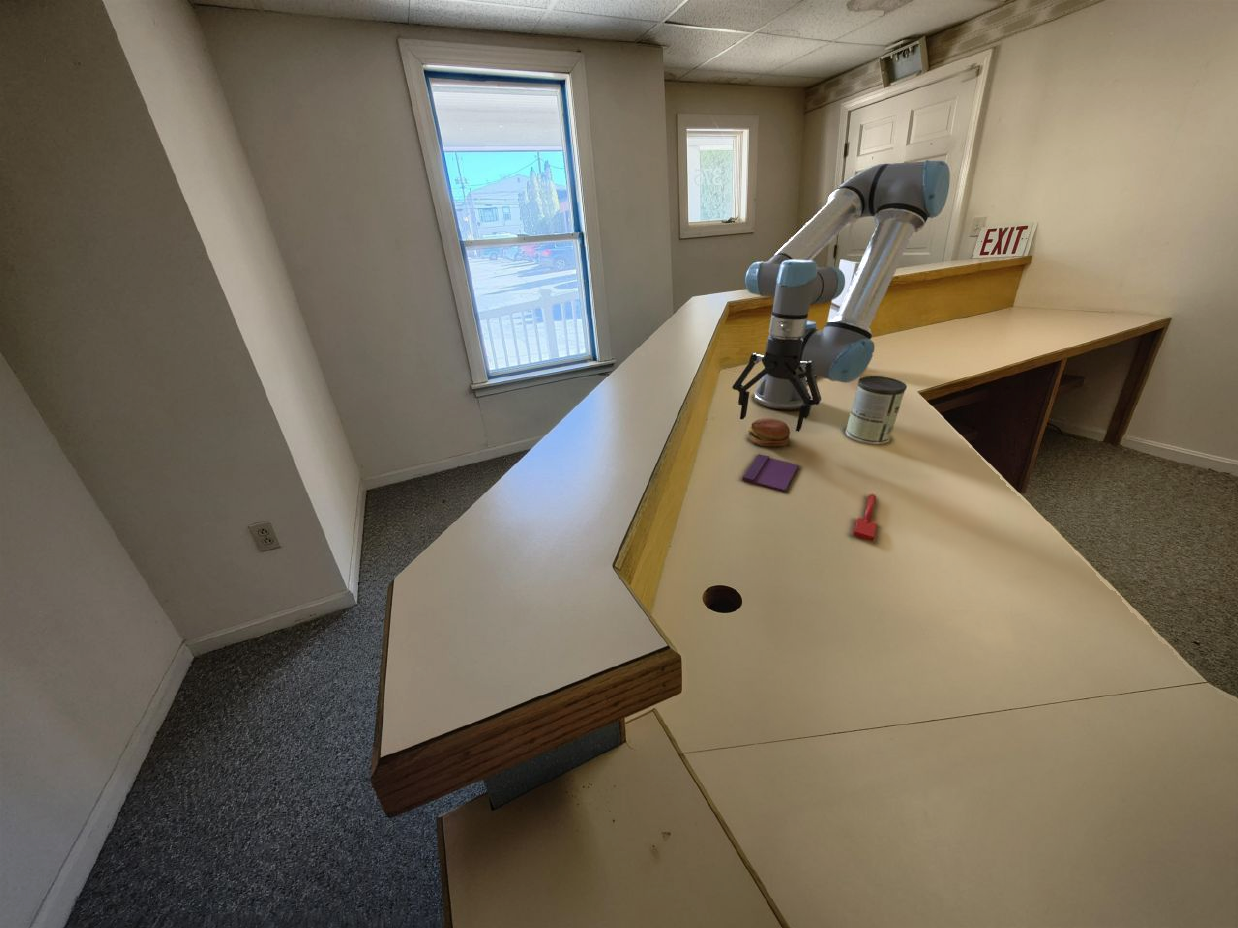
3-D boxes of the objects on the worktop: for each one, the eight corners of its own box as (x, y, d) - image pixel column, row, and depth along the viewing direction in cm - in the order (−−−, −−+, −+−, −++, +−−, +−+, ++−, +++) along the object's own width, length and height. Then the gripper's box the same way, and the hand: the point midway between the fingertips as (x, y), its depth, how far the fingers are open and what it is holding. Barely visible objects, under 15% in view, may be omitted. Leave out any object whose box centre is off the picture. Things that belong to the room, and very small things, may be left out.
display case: (861, 370, 160) (889, 262, 142) (830, 370, 160) (855, 263, 143) (847, 360, 170) (872, 259, 152) (818, 361, 170) (840, 259, 152)
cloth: (758, 456, 106) (758, 453, 106) (798, 466, 102) (798, 463, 102) (742, 480, 97) (742, 477, 97) (784, 491, 93) (785, 488, 93)
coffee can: (845, 424, 121) (858, 373, 114) (888, 431, 117) (905, 378, 110) (844, 440, 113) (858, 386, 106) (890, 447, 109) (908, 392, 102)
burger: (796, 444, 111) (799, 427, 109) (763, 451, 108) (766, 433, 106) (771, 428, 119) (774, 412, 117) (741, 434, 117) (743, 417, 114)
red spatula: (863, 495, 92) (864, 490, 91) (880, 499, 90) (882, 494, 90) (853, 535, 80) (854, 530, 80) (873, 541, 79) (874, 536, 78)
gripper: (726, 332, 104) (716, 417, 114) (843, 347, 92) (820, 440, 103) (736, 326, 109) (726, 408, 120) (848, 339, 98) (826, 429, 108)
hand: (769, 423), depth 111 cm, fingers open, 13 cm apart
